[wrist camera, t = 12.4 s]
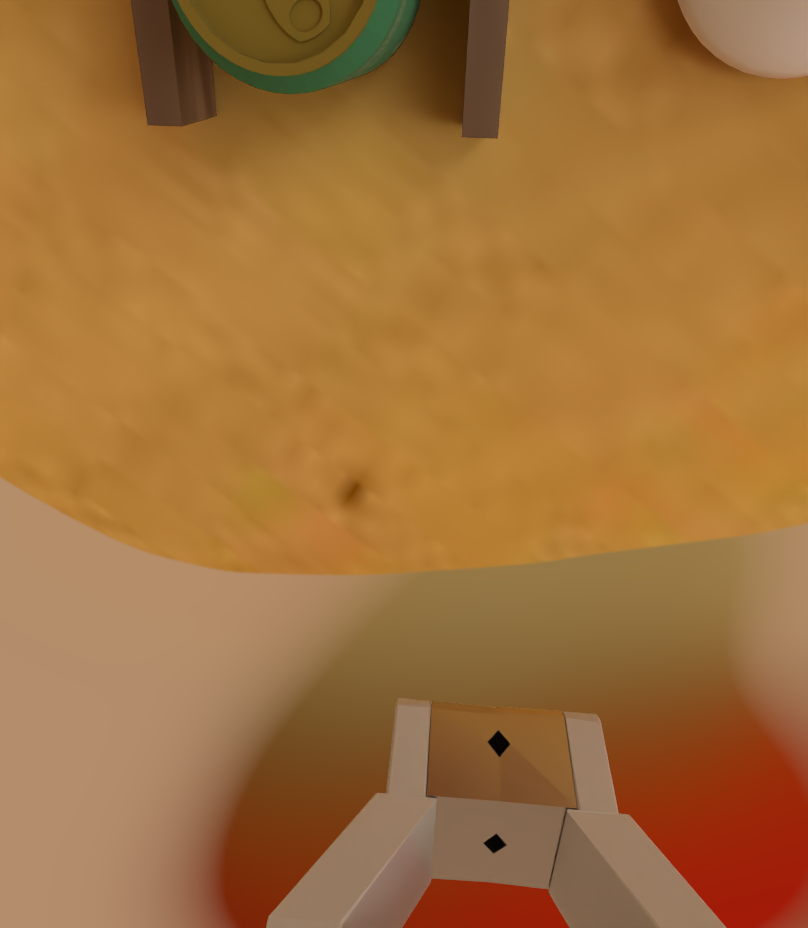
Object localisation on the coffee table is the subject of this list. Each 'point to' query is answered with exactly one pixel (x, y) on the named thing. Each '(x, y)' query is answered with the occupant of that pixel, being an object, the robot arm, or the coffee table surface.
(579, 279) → the coffee table surface
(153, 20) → the walnut bracket
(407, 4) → the beverage can
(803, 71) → the flower in vase
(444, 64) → the coffee table surface
